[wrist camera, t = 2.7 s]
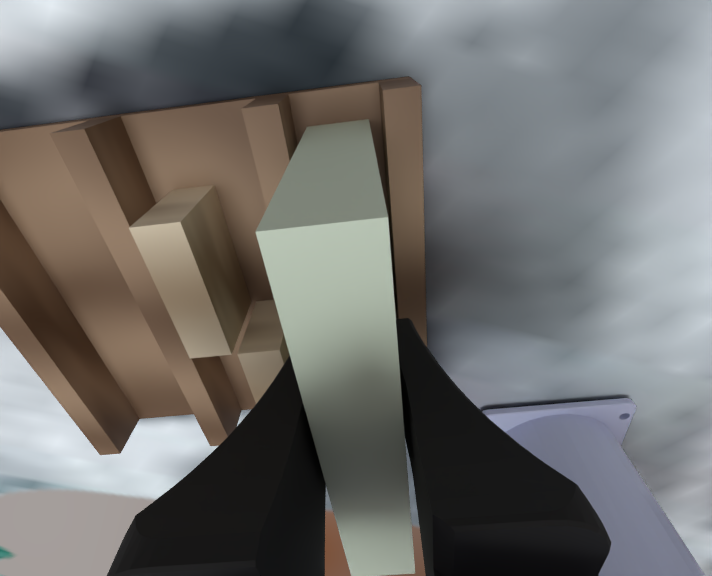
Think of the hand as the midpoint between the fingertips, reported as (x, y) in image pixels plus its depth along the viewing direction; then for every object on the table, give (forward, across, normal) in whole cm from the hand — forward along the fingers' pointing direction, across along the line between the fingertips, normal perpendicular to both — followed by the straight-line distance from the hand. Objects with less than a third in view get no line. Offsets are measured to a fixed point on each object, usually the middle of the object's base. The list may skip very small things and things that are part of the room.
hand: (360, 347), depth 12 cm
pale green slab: (+4, 0, 0) cm, 4 cm away
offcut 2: (+4, +4, +3) cm, 6 cm away
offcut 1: (+4, +5, -2) cm, 7 cm away
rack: (+5, +5, 0) cm, 7 cm away
